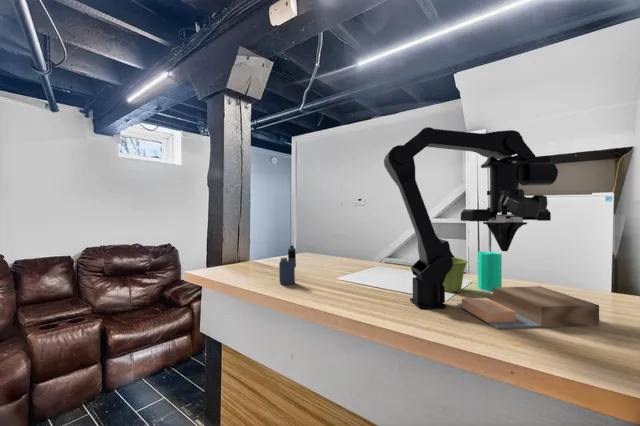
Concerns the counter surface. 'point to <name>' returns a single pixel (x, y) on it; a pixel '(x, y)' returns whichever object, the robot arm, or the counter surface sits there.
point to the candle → (489, 270)
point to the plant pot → (455, 275)
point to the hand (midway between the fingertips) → (504, 251)
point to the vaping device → (288, 267)
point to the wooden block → (547, 306)
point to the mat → (519, 323)
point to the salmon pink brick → (489, 310)
